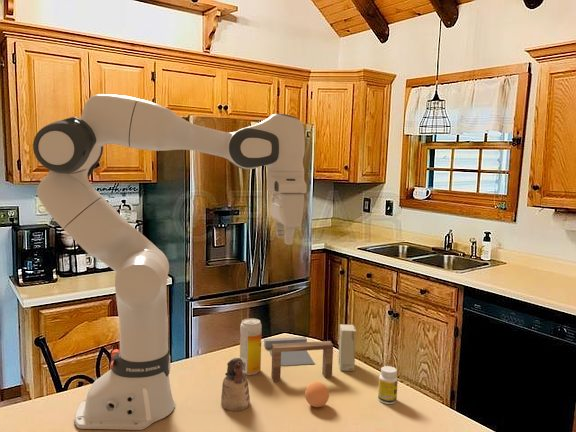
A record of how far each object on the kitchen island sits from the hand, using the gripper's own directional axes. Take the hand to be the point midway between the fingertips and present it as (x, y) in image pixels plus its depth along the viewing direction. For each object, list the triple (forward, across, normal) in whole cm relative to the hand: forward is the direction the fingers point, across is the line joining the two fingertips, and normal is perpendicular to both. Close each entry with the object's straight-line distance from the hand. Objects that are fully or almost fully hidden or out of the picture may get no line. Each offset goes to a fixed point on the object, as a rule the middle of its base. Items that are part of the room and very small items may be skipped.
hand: (284, 240), depth 114 cm
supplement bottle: (+42, +2, +28) cm, 50 cm away
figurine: (+42, -2, -11) cm, 43 cm away
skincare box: (+42, -19, +24) cm, 52 cm away
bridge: (+42, -14, +9) cm, 45 cm away
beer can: (+42, -20, -5) cm, 47 cm away
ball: (+39, +2, +9) cm, 40 cm away
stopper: (+42, -37, +9) cm, 56 cm away
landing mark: (+42, -28, +9) cm, 51 cm away
